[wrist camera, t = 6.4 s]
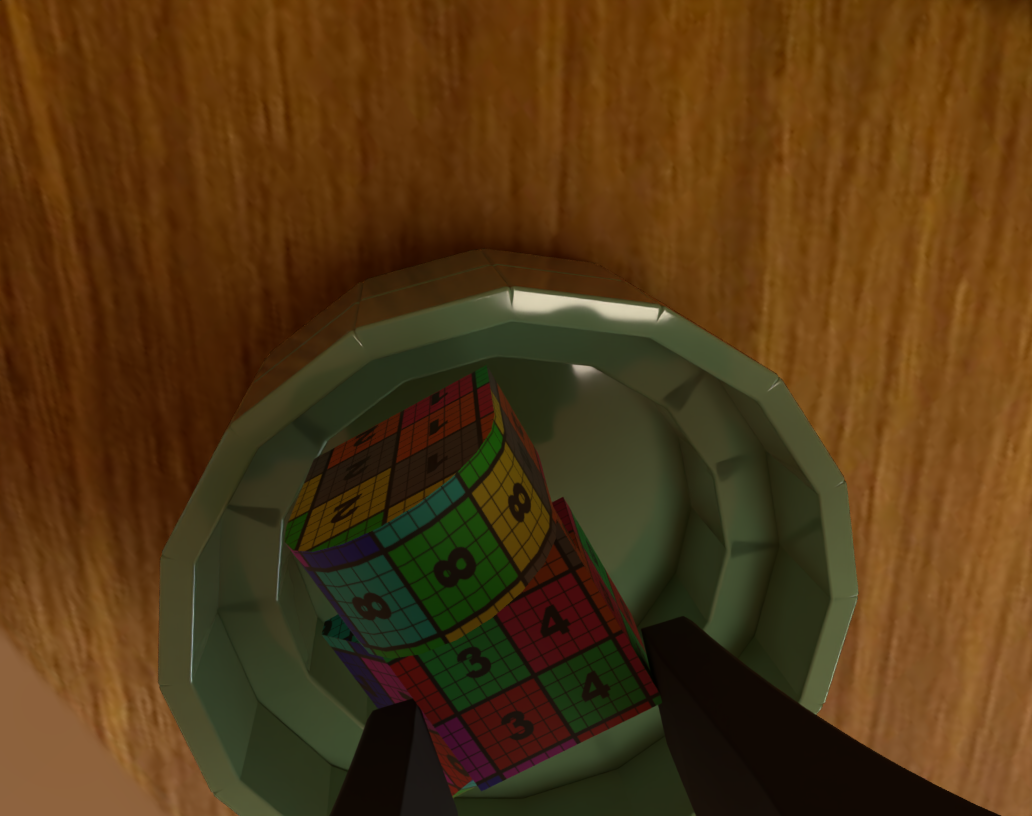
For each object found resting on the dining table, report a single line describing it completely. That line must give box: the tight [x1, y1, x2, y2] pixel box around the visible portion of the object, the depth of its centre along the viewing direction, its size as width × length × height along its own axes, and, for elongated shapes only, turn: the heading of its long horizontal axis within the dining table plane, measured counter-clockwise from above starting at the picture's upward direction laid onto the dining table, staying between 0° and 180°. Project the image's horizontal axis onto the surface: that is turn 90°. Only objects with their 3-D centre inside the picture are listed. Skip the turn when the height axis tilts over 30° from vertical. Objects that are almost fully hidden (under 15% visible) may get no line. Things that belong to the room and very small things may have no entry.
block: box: [284, 365, 662, 798], centre depth 11 cm, size 6×4×3 cm
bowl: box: [158, 248, 859, 816], centre depth 15 cm, size 11×11×4 cm
